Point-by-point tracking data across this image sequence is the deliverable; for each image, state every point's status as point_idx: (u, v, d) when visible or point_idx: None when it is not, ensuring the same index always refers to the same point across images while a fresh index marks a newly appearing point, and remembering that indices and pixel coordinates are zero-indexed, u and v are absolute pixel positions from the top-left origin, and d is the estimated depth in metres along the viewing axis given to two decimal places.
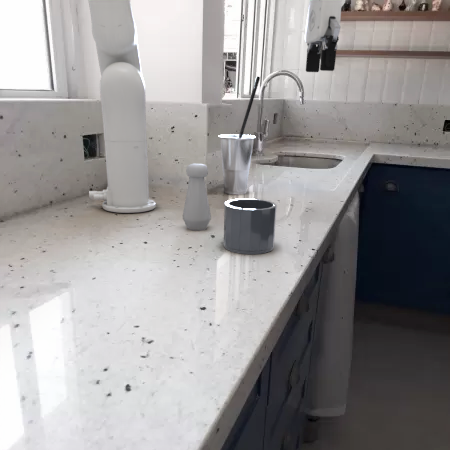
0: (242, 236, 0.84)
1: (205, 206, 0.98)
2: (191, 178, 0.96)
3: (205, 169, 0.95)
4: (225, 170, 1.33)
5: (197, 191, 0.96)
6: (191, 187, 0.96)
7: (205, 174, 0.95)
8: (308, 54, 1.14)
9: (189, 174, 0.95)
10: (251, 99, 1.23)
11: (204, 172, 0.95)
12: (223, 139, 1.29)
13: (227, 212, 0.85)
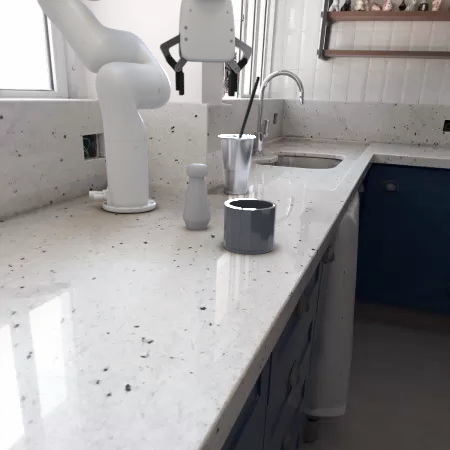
0: (242, 236, 0.84)
1: (205, 206, 0.98)
2: (191, 178, 0.96)
3: (205, 169, 0.95)
4: (225, 170, 1.33)
5: (197, 191, 0.96)
6: (191, 187, 0.96)
7: (205, 174, 0.95)
8: None
9: (189, 174, 0.95)
10: (251, 99, 1.23)
11: (204, 172, 0.95)
12: (223, 139, 1.29)
13: (227, 212, 0.85)
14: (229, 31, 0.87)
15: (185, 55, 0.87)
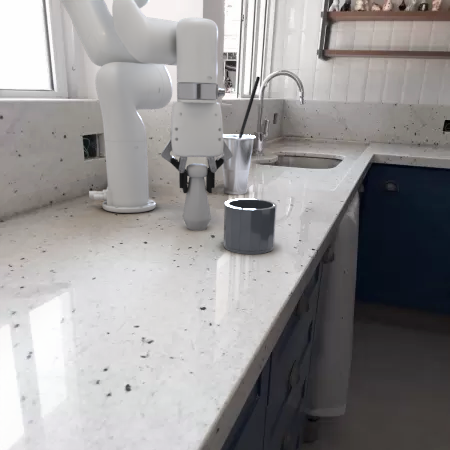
0: (242, 236, 0.84)
1: (205, 206, 0.98)
2: (191, 178, 0.96)
3: (205, 169, 0.95)
4: (225, 170, 1.33)
5: (197, 191, 0.96)
6: (191, 187, 0.96)
7: (205, 174, 0.95)
8: None
9: (189, 174, 0.95)
10: (251, 99, 1.23)
11: (204, 172, 0.95)
12: (223, 139, 1.29)
13: (227, 212, 0.85)
14: (217, 131, 0.92)
15: (176, 153, 0.92)
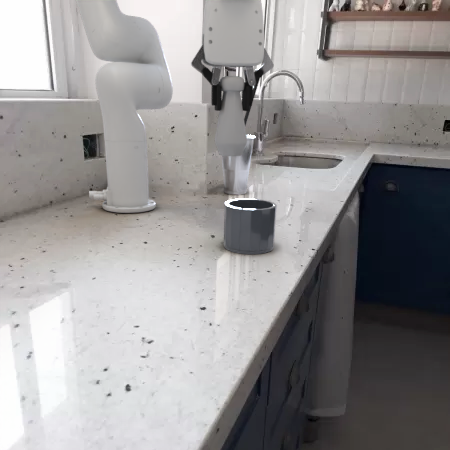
0: (242, 236, 0.84)
1: (241, 126, 0.84)
2: (225, 93, 0.83)
3: (242, 81, 0.82)
4: (225, 170, 1.33)
5: (233, 108, 0.83)
6: (225, 103, 0.83)
7: (242, 87, 0.82)
8: None
9: (223, 87, 0.82)
10: None
11: (240, 84, 0.82)
12: None
13: (227, 212, 0.85)
14: (258, 32, 0.79)
15: (209, 59, 0.79)
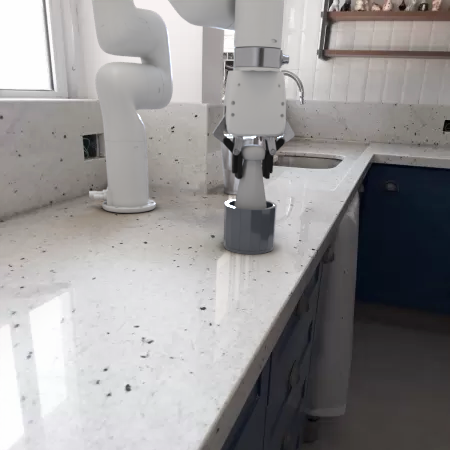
0: (242, 236, 0.84)
1: (261, 194, 0.84)
2: (246, 162, 0.83)
3: (264, 151, 0.82)
4: (225, 170, 1.33)
5: (253, 176, 0.83)
6: (246, 172, 0.83)
7: (263, 156, 0.82)
8: None
9: (244, 156, 0.82)
10: None
11: (262, 154, 0.82)
12: None
13: (227, 212, 0.85)
14: (280, 105, 0.79)
15: (231, 131, 0.79)
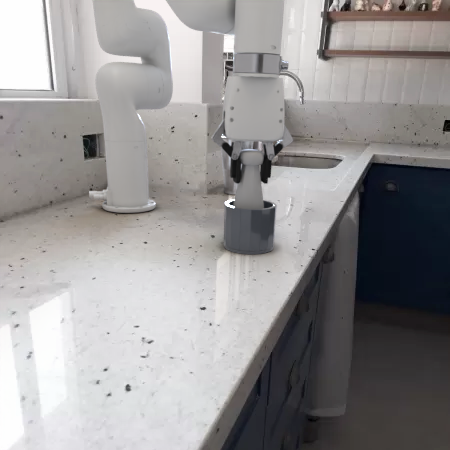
0: (242, 236, 0.84)
1: (259, 198, 0.85)
2: (245, 166, 0.83)
3: (262, 156, 0.82)
4: (225, 170, 1.33)
5: (251, 181, 0.83)
6: (244, 177, 0.83)
7: (261, 161, 0.83)
8: None
9: (243, 161, 0.82)
10: None
11: (260, 159, 0.82)
12: (223, 139, 1.29)
13: (227, 212, 0.85)
14: (279, 111, 0.79)
15: (230, 136, 0.80)
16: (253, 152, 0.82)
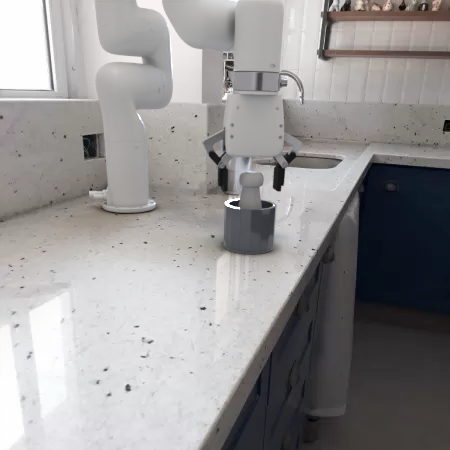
0: (242, 236, 0.84)
1: None
2: (245, 188, 0.84)
3: (262, 178, 0.84)
4: None
5: (252, 202, 0.85)
6: (245, 198, 0.85)
7: (261, 183, 0.84)
8: None
9: (243, 183, 0.84)
10: None
11: (260, 181, 0.83)
12: None
13: (227, 212, 0.85)
14: (278, 127, 0.80)
15: (230, 152, 0.81)
16: (253, 174, 0.83)
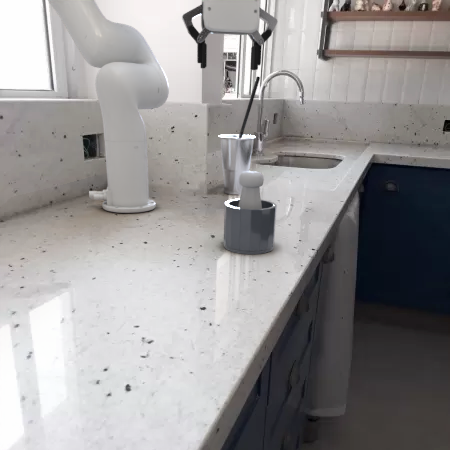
0: (242, 236, 0.84)
1: None
2: (245, 188, 0.84)
3: (262, 178, 0.84)
4: (225, 170, 1.33)
5: (252, 202, 0.85)
6: (245, 198, 0.85)
7: (261, 183, 0.84)
8: None
9: (243, 183, 0.84)
10: (251, 99, 1.23)
11: (260, 181, 0.83)
12: (223, 139, 1.29)
13: (227, 212, 0.85)
14: (253, 1, 0.84)
15: (208, 25, 0.85)
16: (253, 174, 0.83)
